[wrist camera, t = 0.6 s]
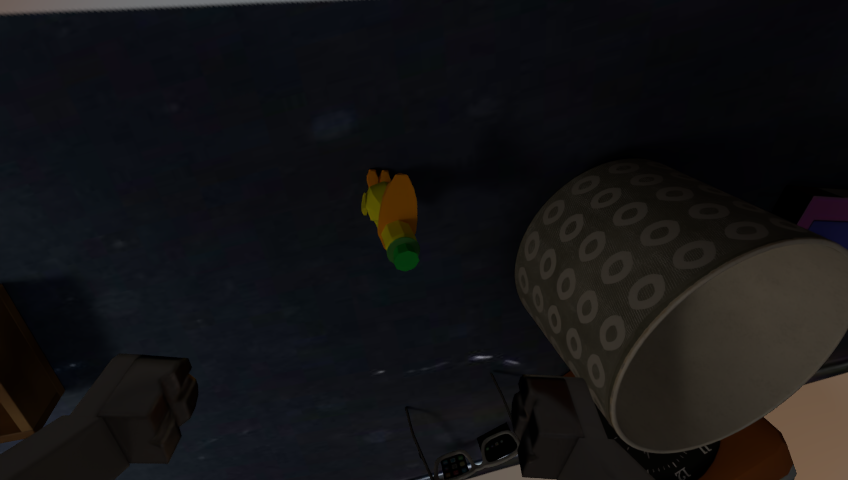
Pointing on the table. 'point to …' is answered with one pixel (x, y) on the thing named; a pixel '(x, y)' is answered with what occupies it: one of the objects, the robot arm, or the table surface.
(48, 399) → the open wooden box
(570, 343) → the planter
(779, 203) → the book
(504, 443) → the smart glasses
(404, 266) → the toy figure
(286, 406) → the table surface
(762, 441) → the alarm clock
